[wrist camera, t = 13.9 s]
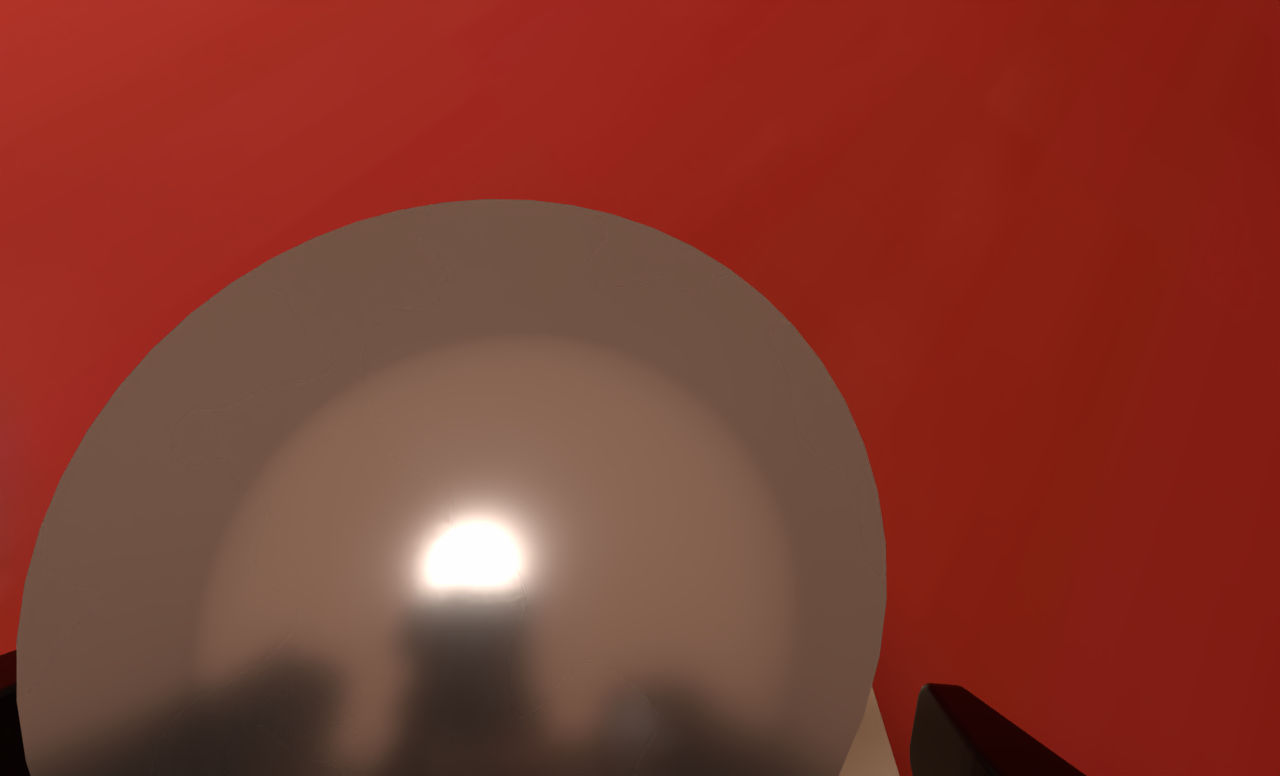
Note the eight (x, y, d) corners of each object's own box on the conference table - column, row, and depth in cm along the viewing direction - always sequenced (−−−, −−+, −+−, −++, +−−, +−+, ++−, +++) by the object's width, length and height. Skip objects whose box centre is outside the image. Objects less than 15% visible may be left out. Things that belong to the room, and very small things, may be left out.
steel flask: (744, 848, 15) (1033, 912, 4) (439, 916, 15) (-99, 1181, 4) (681, 558, 18) (762, 162, 7) (424, 603, 18) (95, 245, 7)
